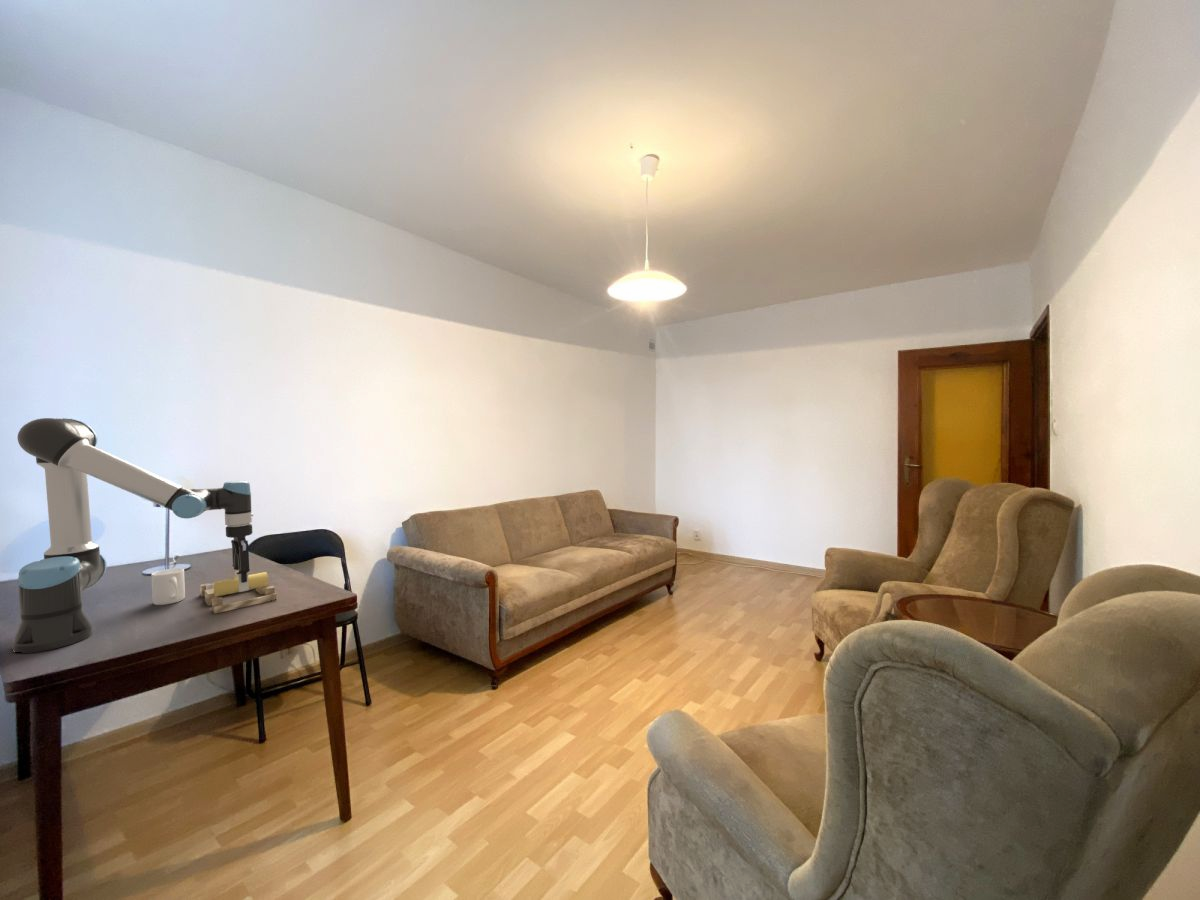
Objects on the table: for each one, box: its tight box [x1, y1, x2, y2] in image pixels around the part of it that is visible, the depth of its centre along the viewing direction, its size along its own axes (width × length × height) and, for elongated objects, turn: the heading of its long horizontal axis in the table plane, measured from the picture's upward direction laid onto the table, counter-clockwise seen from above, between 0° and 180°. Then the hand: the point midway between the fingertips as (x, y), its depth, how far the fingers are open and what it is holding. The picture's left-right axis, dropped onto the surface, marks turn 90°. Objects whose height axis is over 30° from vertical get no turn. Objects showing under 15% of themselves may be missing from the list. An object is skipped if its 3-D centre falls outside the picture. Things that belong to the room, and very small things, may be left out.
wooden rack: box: [199, 583, 278, 615], centre depth 173 cm, size 18×27×4 cm, turn 48°
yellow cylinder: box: [212, 571, 269, 597], centre depth 169 cm, size 15×5×5 cm, turn 138°
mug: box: [150, 567, 186, 606], centre depth 168 cm, size 9×12×11 cm
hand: (242, 589), depth 169 cm, fingers closed on yellow cylinder, 5 cm apart
